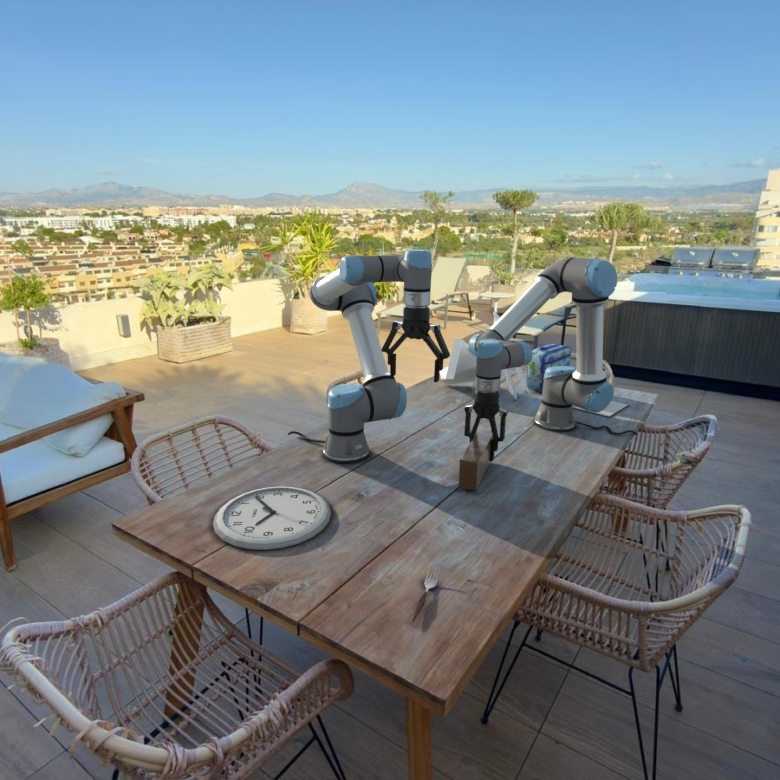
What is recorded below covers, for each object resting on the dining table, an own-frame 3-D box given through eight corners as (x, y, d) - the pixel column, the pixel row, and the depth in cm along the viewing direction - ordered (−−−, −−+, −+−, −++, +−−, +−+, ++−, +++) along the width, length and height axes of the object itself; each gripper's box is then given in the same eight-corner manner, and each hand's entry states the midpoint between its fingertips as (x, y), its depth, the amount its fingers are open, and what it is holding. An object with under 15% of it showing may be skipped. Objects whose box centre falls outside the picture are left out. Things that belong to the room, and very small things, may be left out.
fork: (406, 621, 101) (406, 613, 100) (428, 573, 115) (429, 565, 115) (419, 625, 100) (419, 616, 99) (440, 576, 114) (440, 568, 114)
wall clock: (329, 541, 123) (198, 546, 121) (329, 547, 124) (199, 552, 121) (332, 482, 152) (226, 484, 149) (332, 487, 152) (226, 489, 150)
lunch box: (542, 396, 239) (547, 351, 232) (522, 391, 246) (526, 347, 240) (570, 385, 256) (575, 343, 250) (550, 380, 263) (554, 339, 257)
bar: (477, 454, 173) (478, 429, 171) (492, 456, 172) (494, 431, 169) (458, 487, 152) (459, 459, 149) (475, 490, 150) (477, 462, 147)
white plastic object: (461, 429, 252) (437, 405, 227) (444, 352, 274) (420, 323, 250) (535, 404, 240) (518, 377, 215) (510, 326, 262) (492, 293, 237)
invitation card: (608, 416, 214) (573, 407, 224) (608, 416, 214) (573, 408, 224) (628, 404, 229) (594, 396, 238) (628, 405, 229) (594, 397, 238)
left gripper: (370, 304, 149) (370, 376, 155) (456, 311, 140) (452, 386, 146) (381, 301, 155) (380, 370, 162) (463, 307, 147) (458, 380, 153)
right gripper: (455, 389, 162) (452, 458, 169) (515, 397, 156) (509, 467, 163) (461, 383, 169) (458, 449, 176) (518, 389, 162) (513, 458, 169)
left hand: (414, 378), depth 154 cm, fingers open, 13 cm apart
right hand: (482, 458), depth 169 cm, fingers closed on bar, 5 cm apart
